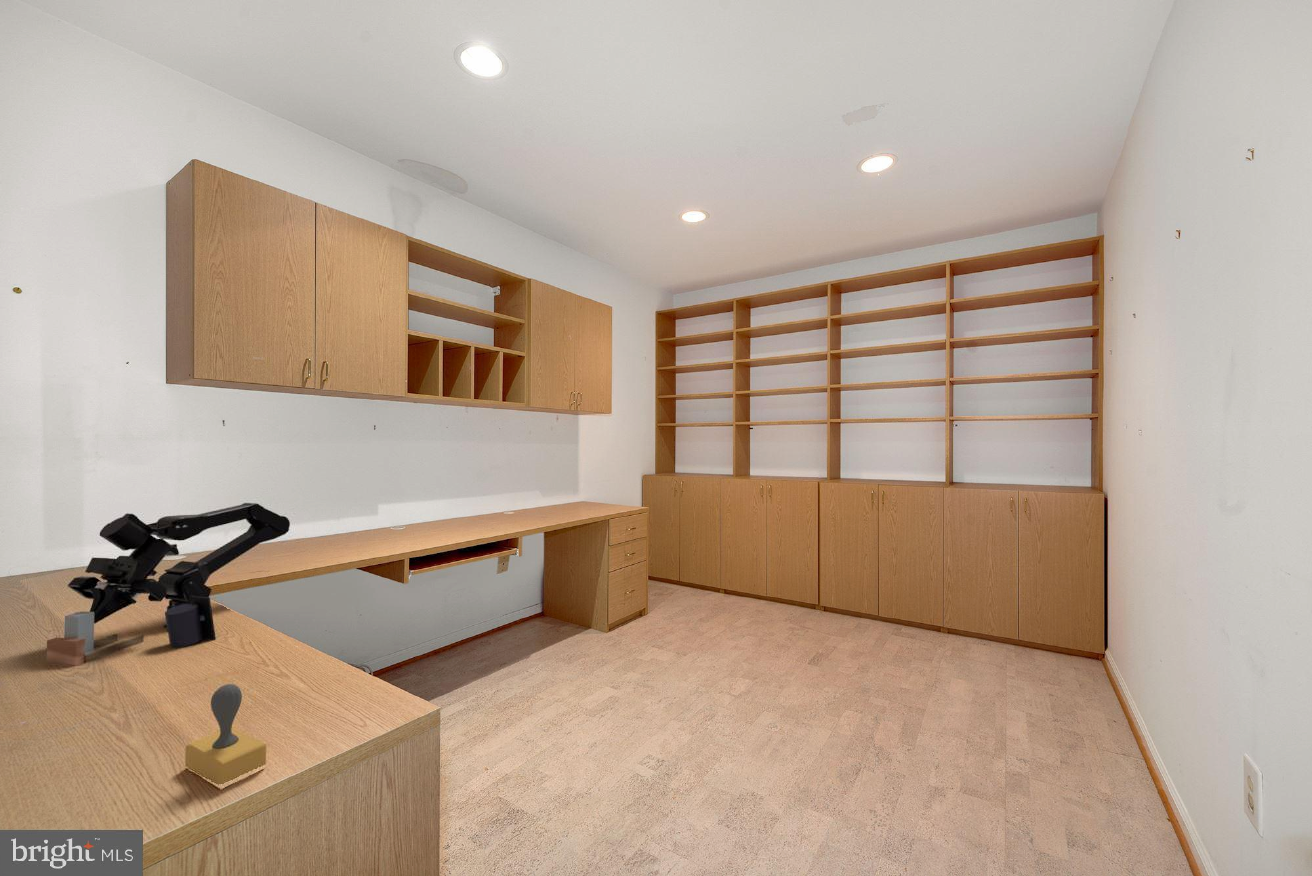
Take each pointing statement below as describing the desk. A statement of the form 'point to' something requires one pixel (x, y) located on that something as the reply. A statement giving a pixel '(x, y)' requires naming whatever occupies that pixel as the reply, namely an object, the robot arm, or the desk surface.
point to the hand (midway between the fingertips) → (88, 624)
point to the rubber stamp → (225, 743)
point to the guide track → (83, 649)
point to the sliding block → (81, 628)
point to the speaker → (190, 622)
